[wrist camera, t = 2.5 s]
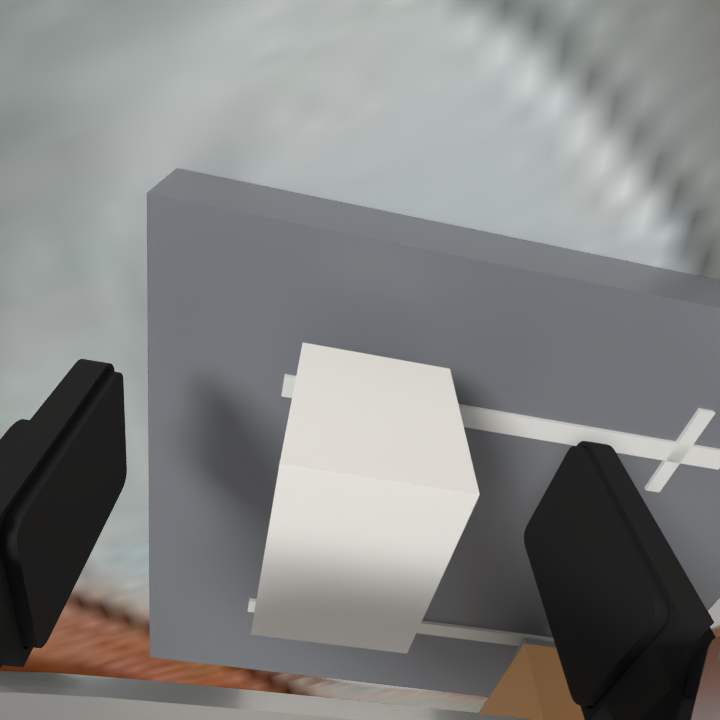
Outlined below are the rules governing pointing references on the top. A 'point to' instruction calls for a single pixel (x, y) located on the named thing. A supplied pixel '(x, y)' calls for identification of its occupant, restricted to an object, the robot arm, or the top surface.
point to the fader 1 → (364, 501)
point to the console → (420, 345)
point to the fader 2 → (533, 686)
